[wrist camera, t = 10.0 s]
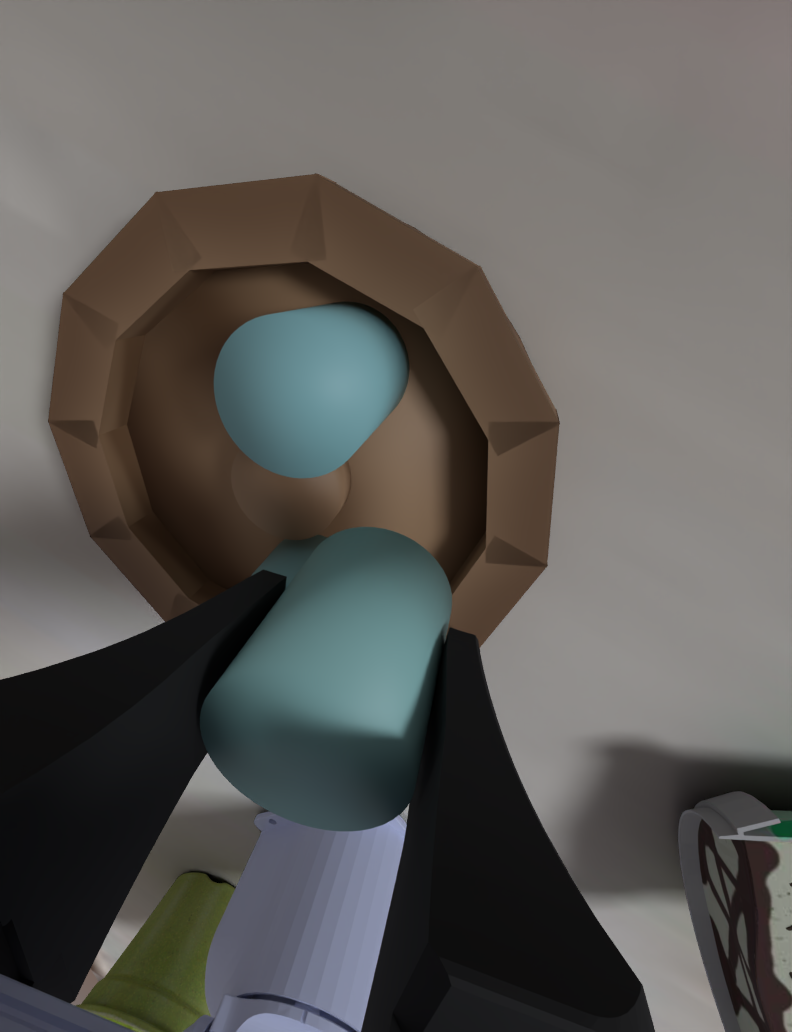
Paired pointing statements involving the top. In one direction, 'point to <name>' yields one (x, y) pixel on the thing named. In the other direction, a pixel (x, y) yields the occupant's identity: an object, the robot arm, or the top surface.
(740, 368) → the top surface
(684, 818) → the food container
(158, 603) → the groove tray
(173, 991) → the plant pot
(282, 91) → the top surface
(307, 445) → the bead
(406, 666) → the loose bead
